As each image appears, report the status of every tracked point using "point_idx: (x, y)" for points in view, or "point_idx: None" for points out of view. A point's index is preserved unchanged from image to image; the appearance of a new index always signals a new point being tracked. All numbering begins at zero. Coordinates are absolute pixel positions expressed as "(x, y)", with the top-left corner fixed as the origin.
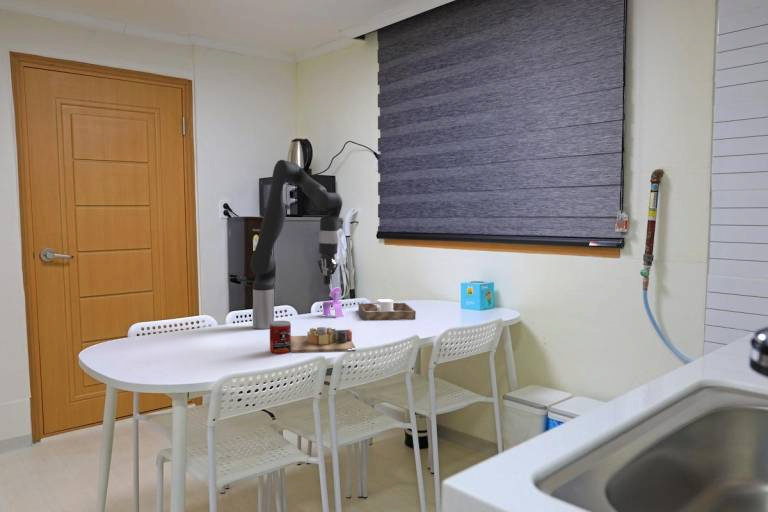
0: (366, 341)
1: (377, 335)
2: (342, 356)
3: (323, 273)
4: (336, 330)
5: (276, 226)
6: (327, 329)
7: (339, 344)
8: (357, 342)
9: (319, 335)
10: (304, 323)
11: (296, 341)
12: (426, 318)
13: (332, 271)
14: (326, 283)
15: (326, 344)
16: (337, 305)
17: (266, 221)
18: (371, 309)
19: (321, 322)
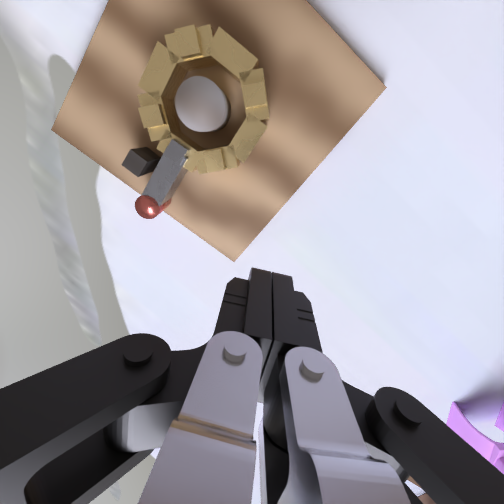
0: (151, 253)
1: (193, 325)
2: (5, 23)
3: (313, 364)
4: (172, 166)
5: None
6: (212, 150)
7: (134, 130)
8: (157, 224)
9: (161, 49)
10: (501, 301)
11: (290, 26)
12: (255, 501)
13: (112, 449)
14: (248, 279)
15: None
16: (483, 451)
17: None
18: (421, 501)
19: (455, 343)
